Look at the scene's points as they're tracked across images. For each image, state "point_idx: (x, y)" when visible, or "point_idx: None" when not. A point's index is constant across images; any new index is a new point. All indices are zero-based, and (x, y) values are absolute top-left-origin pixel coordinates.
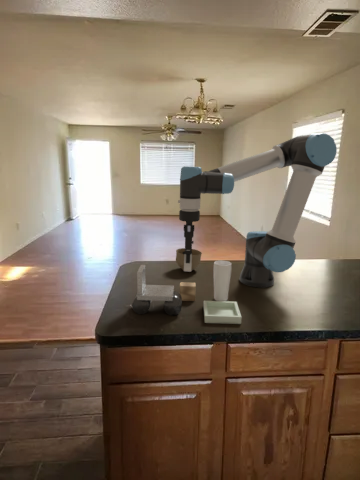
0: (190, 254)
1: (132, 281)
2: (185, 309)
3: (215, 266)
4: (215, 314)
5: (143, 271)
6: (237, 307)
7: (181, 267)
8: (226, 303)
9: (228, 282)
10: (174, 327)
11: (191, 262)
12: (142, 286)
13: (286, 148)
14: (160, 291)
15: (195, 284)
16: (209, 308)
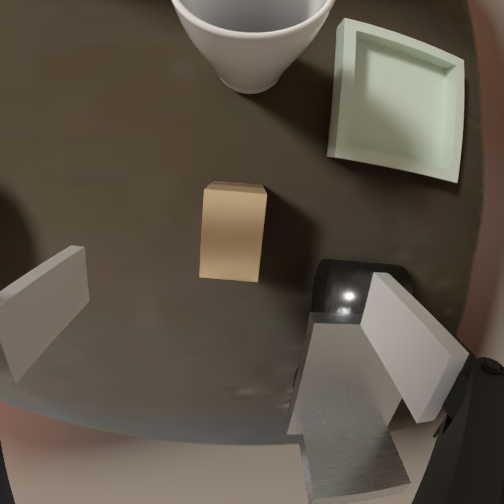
0: (460, 364)
1: (94, 401)
2: (344, 235)
3: (292, 41)
4: (404, 126)
5: (370, 482)
6: (398, 36)
7: None
8: (353, 60)
9: (290, 4)
10: (449, 278)
11: (422, 307)
12: (384, 438)
13: None
14: (373, 371)
15: (234, 191)
16: (355, 136)
